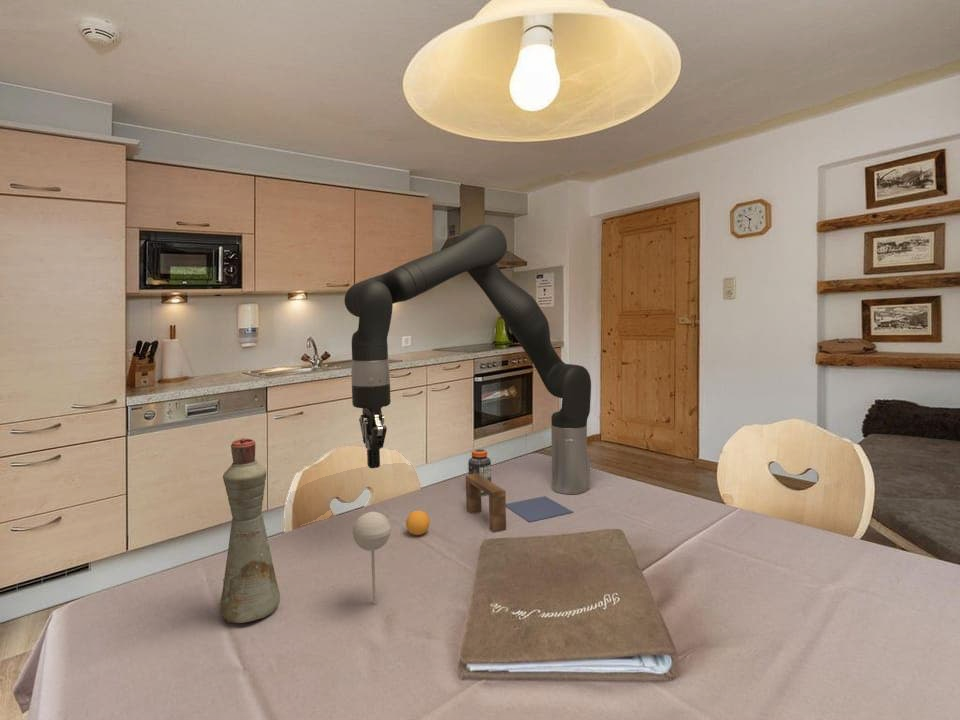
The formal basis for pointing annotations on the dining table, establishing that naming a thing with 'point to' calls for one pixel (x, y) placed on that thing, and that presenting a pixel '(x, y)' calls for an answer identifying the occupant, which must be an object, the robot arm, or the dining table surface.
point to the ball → (417, 522)
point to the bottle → (247, 542)
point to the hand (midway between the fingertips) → (373, 466)
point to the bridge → (496, 500)
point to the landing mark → (538, 508)
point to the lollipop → (372, 536)
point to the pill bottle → (480, 464)
